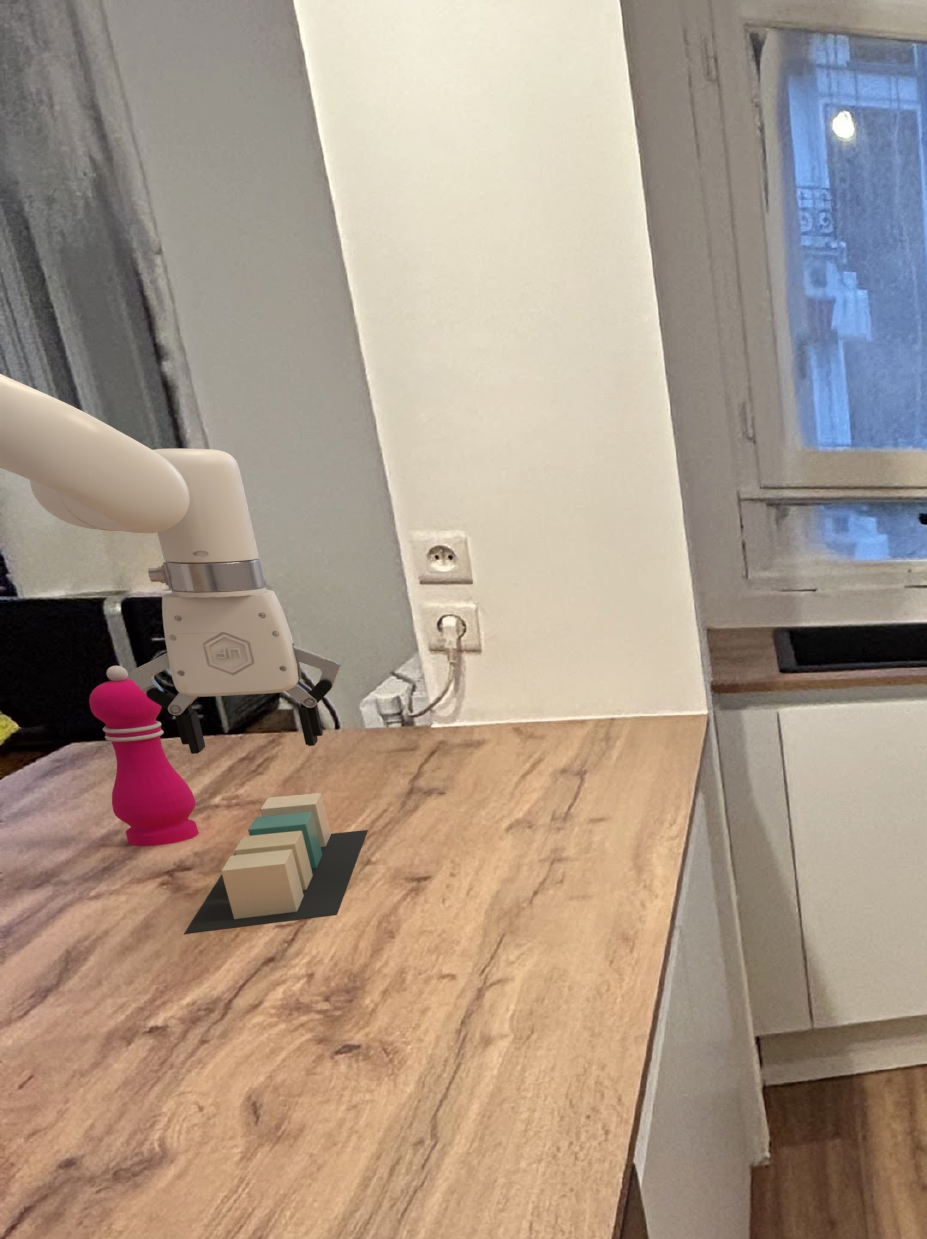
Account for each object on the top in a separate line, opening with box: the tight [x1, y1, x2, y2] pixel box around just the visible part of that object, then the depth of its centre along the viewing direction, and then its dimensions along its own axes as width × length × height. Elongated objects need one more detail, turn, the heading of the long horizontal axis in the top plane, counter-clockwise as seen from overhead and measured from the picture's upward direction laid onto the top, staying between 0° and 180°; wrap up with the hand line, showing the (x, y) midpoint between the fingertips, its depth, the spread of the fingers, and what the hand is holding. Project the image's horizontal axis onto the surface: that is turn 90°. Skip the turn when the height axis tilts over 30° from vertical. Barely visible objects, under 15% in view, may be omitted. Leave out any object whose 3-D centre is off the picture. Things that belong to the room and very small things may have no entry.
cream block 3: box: [220, 849, 304, 919], centre depth 133 cm, size 5×5×5 cm
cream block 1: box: [260, 792, 332, 847], centre depth 152 cm, size 5×5×5 cm
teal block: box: [247, 812, 322, 869], centre depth 145 cm, size 5×5×5 cm
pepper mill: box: [88, 665, 199, 847], centre depth 150 cm, size 7×7×20 cm
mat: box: [183, 829, 369, 935], centre depth 142 cm, size 12×31×1 cm, turn 28°
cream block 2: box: [233, 831, 313, 890], centre depth 138 cm, size 5×5×5 cm
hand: (256, 747), depth 141 cm, fingers open, 9 cm apart
